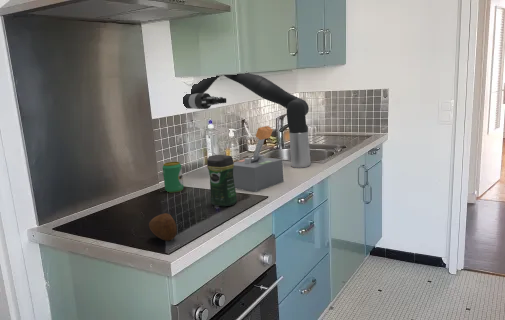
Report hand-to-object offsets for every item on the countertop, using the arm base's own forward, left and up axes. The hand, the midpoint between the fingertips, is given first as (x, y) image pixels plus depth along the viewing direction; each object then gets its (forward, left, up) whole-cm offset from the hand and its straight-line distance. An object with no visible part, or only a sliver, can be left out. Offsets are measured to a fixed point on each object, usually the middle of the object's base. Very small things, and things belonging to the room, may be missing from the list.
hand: (225, 100), depth 191 cm
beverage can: (+28, -7, -36) cm, 46 cm away
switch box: (+4, +19, -36) cm, 41 cm away
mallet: (+4, +19, -25) cm, 32 cm away
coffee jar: (+31, +27, -36) cm, 55 cm away
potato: (+65, +37, -36) cm, 83 cm away
